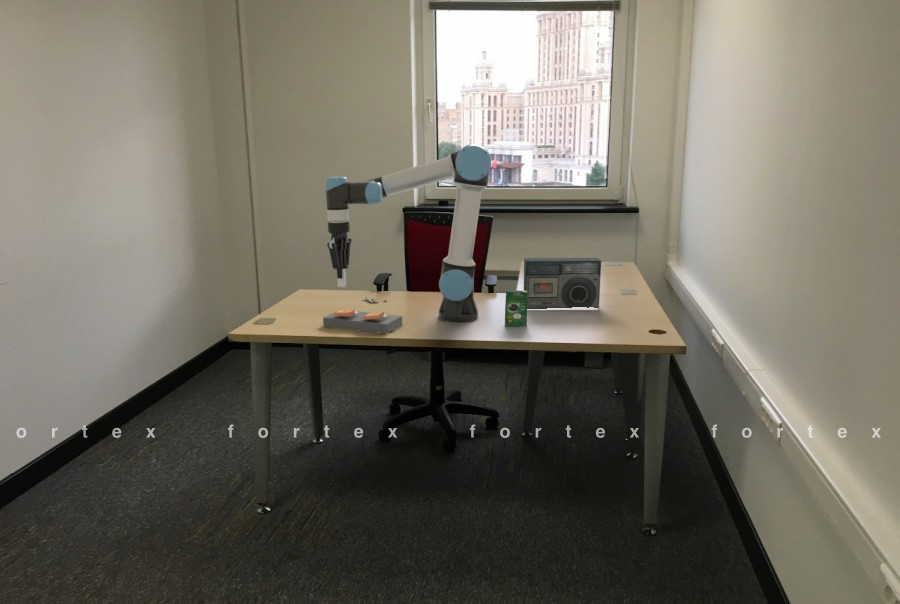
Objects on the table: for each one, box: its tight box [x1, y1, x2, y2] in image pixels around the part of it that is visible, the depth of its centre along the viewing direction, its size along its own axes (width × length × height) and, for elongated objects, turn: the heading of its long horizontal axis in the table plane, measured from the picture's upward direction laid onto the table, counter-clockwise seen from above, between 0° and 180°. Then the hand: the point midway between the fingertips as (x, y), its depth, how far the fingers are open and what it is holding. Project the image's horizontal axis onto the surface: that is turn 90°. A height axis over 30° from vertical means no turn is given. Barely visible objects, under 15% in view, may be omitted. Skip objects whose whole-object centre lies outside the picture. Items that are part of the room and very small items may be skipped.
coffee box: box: [504, 289, 528, 327], centre depth 242 cm, size 8×3×13 cm, turn 89°
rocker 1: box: [333, 309, 356, 316], centre depth 243 cm, size 6×4×1 cm
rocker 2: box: [363, 312, 385, 320], centre depth 239 cm, size 6×4×1 cm
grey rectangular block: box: [322, 310, 403, 334], centre depth 244 cm, size 26×12×4 cm, turn 68°
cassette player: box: [523, 257, 602, 309], centre depth 265 cm, size 29×7×20 cm, turn 89°
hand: (342, 286), depth 242 cm, fingers closed
